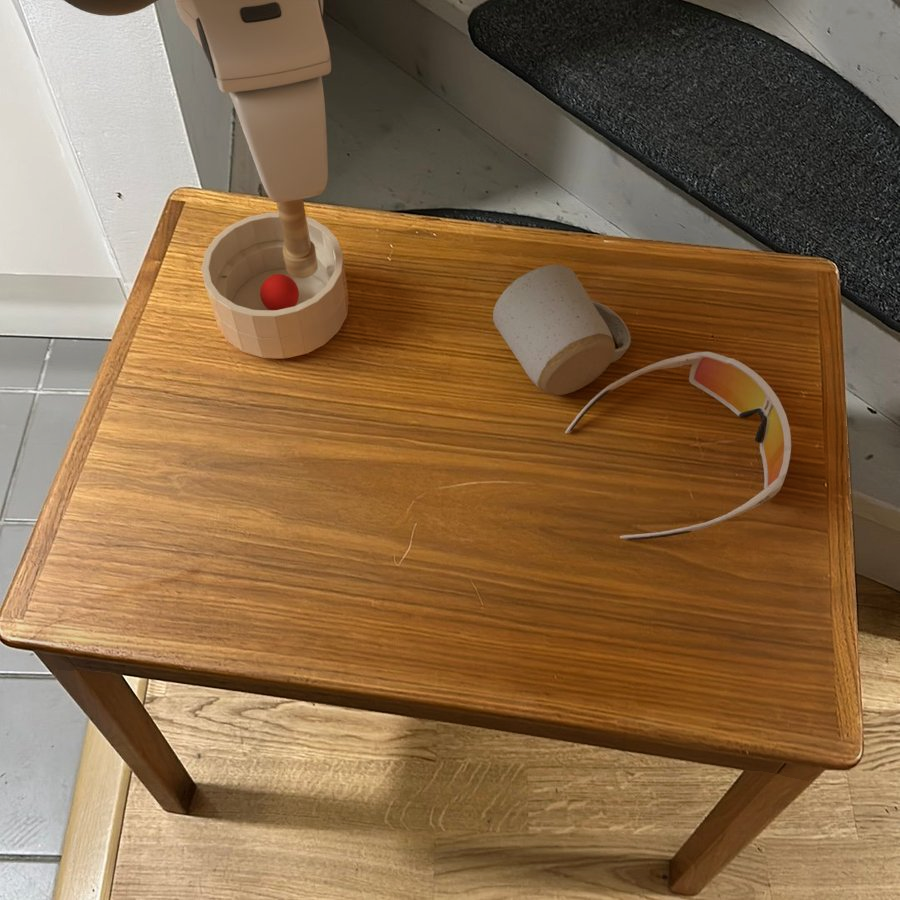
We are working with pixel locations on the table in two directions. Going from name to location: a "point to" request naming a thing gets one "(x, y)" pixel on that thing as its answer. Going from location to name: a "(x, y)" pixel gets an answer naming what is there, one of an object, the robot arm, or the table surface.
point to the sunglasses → (744, 399)
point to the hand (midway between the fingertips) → (280, 159)
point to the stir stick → (297, 240)
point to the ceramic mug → (558, 329)
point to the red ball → (279, 292)
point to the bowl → (250, 263)
